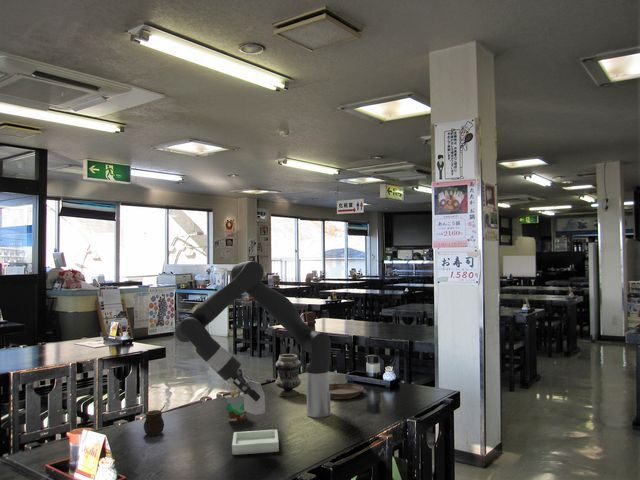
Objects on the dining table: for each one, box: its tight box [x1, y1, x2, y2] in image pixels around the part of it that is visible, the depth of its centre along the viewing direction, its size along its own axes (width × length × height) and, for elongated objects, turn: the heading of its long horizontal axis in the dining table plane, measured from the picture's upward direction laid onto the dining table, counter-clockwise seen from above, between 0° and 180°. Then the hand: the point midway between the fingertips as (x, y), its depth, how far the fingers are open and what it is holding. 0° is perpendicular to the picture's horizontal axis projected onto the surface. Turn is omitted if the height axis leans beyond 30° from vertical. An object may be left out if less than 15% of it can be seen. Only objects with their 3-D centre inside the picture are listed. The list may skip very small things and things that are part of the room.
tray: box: [231, 428, 280, 456], centre depth 171 cm, size 15×13×3 cm
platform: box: [224, 389, 239, 399], centre depth 221 cm, size 12×18×7 cm, turn 132°
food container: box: [226, 389, 247, 424], centre depth 201 cm, size 12×6×10 cm, turn 168°
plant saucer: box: [329, 382, 364, 400], centre depth 235 cm, size 21×21×3 cm
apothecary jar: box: [275, 353, 302, 398], centre depth 239 cm, size 12×12×18 cm
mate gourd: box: [143, 405, 166, 437], centre depth 186 cm, size 7×8×10 cm
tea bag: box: [244, 380, 266, 416], centre depth 172 cm, size 4×7×10 cm, turn 43°
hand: (258, 396), depth 172 cm, fingers closed on tea bag, 7 cm apart
